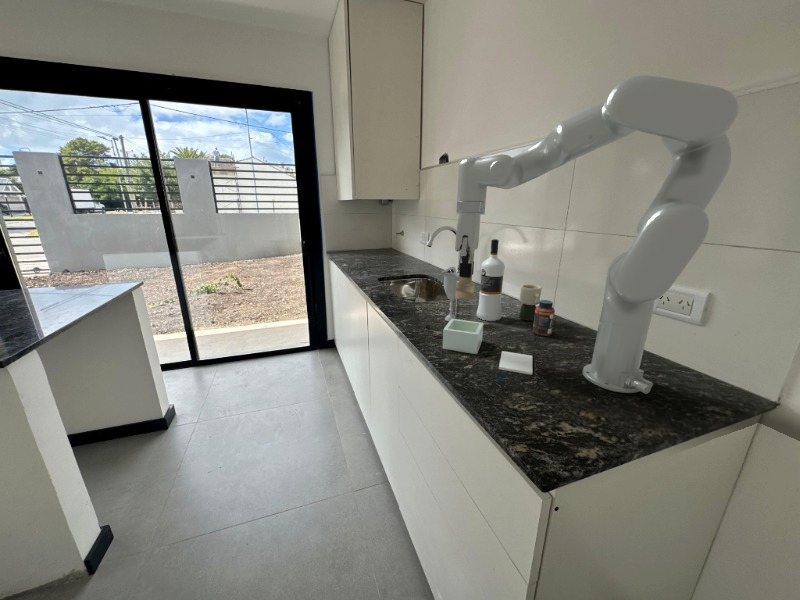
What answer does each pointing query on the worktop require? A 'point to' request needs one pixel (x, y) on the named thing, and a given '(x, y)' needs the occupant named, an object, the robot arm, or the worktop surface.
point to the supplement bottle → (544, 318)
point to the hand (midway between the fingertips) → (466, 275)
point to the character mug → (529, 301)
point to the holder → (463, 336)
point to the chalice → (450, 290)
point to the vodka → (491, 286)
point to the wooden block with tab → (465, 285)
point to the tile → (516, 362)
